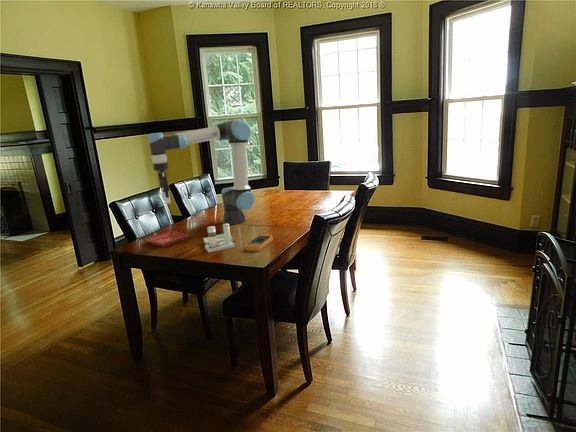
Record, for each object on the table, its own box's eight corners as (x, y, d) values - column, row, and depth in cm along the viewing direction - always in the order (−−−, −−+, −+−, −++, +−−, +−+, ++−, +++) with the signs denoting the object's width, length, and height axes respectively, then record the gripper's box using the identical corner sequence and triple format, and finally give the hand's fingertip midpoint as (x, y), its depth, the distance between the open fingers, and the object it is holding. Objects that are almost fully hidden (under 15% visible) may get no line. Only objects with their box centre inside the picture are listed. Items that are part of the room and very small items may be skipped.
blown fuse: (217, 247, 201) (213, 225, 198) (219, 249, 198) (216, 227, 195) (209, 248, 200) (206, 227, 197) (211, 250, 196) (208, 229, 193)
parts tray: (227, 237, 217) (227, 233, 216) (233, 241, 208) (232, 237, 207) (203, 242, 211) (203, 238, 210) (208, 247, 202) (207, 242, 202)
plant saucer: (172, 235, 231) (171, 230, 231) (189, 239, 220) (188, 234, 219) (145, 244, 218) (144, 239, 217) (162, 249, 207) (161, 243, 206)
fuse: (230, 244, 204) (228, 223, 201) (232, 245, 201) (229, 224, 198) (224, 245, 203) (222, 224, 200) (226, 247, 200) (223, 225, 197)
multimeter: (274, 240, 205) (273, 234, 204) (259, 252, 189) (259, 245, 188) (260, 239, 208) (259, 233, 207) (244, 251, 192) (244, 244, 191)
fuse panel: (230, 242, 206) (229, 239, 206) (234, 246, 199) (234, 243, 199) (205, 248, 201) (204, 245, 200) (208, 252, 194) (208, 249, 193)
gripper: (150, 161, 210) (157, 198, 216) (154, 165, 188) (162, 206, 193) (164, 160, 213) (171, 196, 218) (170, 163, 191) (177, 203, 196)
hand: (166, 201), depth 206 cm, fingers open, 13 cm apart
